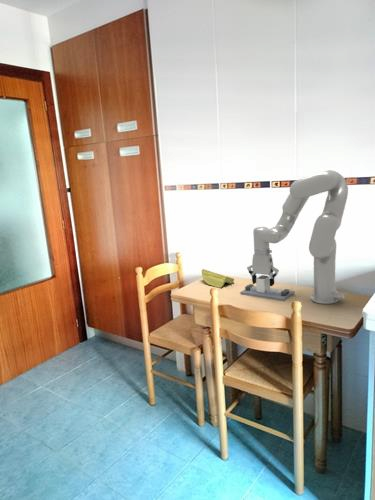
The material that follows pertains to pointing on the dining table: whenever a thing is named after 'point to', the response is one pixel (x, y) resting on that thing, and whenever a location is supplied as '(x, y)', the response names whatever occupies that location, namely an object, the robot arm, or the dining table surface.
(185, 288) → the dining table surface
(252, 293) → the mounting plate
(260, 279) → the block
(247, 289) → the din rail
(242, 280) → the dining table surface
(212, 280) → the yellow-green curved piece
